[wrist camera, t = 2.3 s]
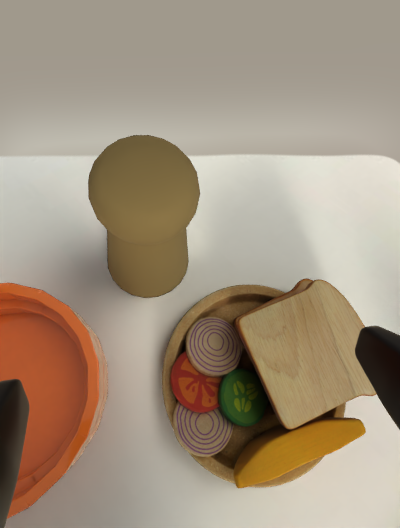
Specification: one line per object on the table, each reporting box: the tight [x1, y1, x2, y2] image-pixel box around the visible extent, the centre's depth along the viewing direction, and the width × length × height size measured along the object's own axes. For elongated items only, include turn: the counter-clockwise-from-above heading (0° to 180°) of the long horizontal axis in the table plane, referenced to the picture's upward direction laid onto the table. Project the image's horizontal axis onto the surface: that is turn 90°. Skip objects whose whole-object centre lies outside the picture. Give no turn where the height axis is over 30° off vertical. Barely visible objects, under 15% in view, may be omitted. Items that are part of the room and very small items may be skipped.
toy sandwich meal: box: [162, 279, 376, 488], centre depth 20 cm, size 12×14×5 cm
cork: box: [88, 135, 200, 298], centre depth 18 cm, size 6×6×11 cm
